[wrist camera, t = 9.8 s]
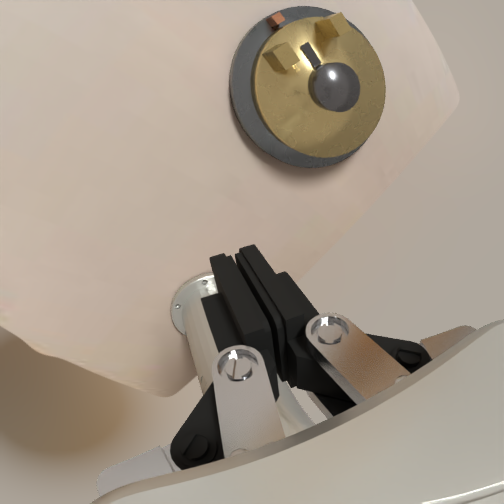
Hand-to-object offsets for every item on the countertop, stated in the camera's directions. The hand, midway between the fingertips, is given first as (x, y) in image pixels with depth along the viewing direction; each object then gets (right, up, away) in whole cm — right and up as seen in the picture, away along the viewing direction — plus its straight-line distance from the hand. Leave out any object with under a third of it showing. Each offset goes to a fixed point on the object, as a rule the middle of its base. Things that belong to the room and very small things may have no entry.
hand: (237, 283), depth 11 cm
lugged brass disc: (+9, +22, +22) cm, 32 cm away
